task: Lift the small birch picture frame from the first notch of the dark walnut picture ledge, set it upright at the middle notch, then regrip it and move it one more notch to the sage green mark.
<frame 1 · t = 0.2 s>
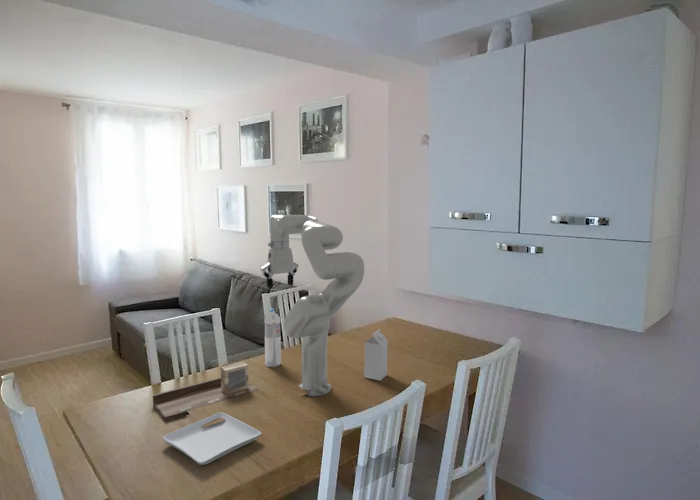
hand: (280, 286, 185), 36 cm above the table, tool pointing down, fingers open, 9 cm apart
salad plate: (212, 445, 134), on the table
picture ledge: (208, 399, 163), on the table
water bottle: (273, 365, 196), on the table
picture frame: (235, 389, 168), point 1 cm above the table, touching picture ledge
milk carton: (375, 376, 184), on the table
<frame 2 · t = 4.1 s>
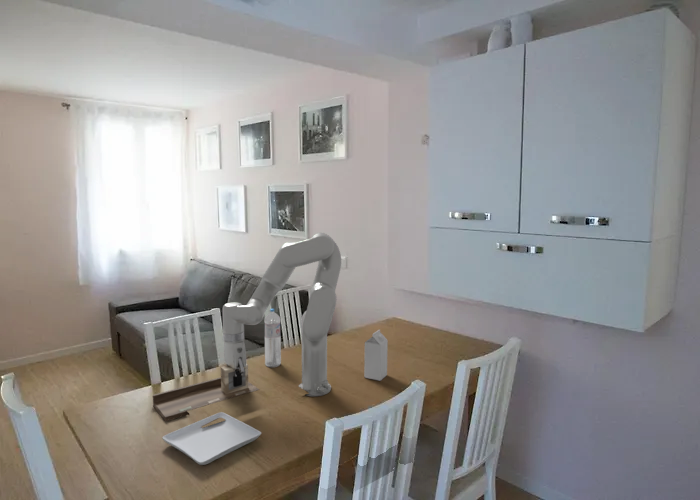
hand: (234, 383, 168), 4 cm above the table, tool pointing down, fingers closed on picture frame, 4 cm apart
picture frame: (235, 389, 168), point 2 cm above the table, touching gripper, picture ledge
everything else where it was.
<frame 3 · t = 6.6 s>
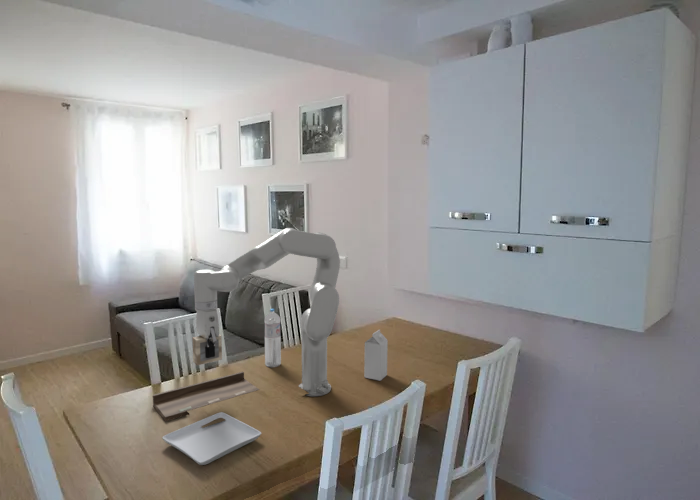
hand: (207, 354, 160), 17 cm above the table, tool pointing down, fingers closed on picture frame, 4 cm apart
picture frame: (207, 360, 160), point 15 cm above the table, touching gripper
everything else where it was.
when the fingers open (5 cm above the table, at t = 9.0 s): picture frame drops 1 cm, resting on picture ledge.
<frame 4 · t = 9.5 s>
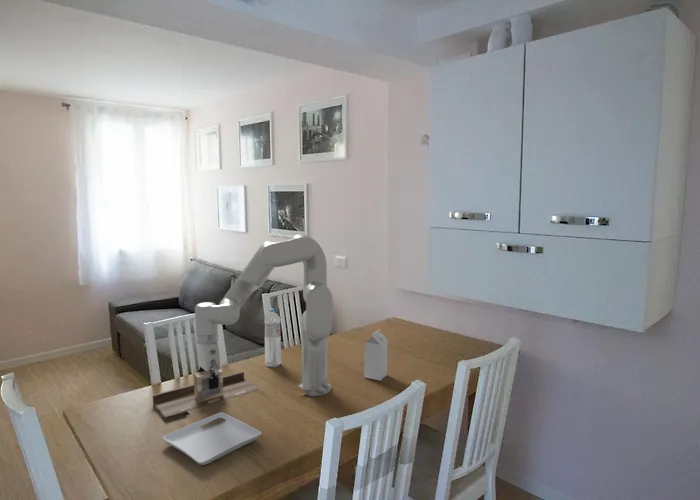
hand: (208, 383, 161), 6 cm above the table, tool pointing down, fingers open, 9 cm apart
picture frame: (209, 396, 162), point 1 cm above the table, touching picture ledge
everything else where it was.
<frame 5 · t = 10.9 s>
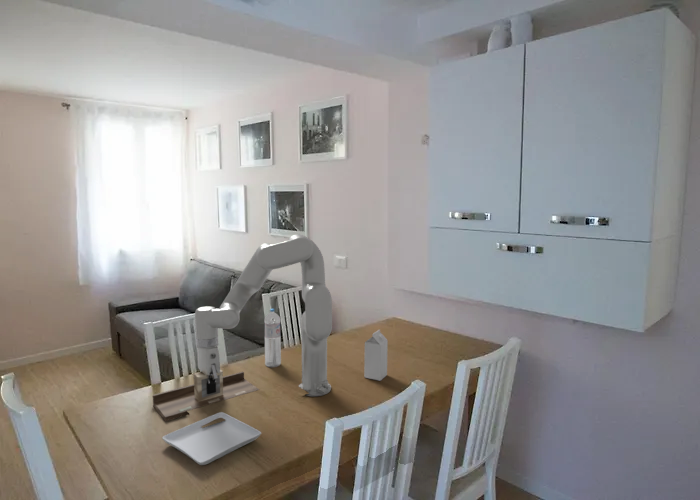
hand: (208, 390, 161), 4 cm above the table, tool pointing down, fingers closed on picture frame, 4 cm apart
picture frame: (209, 396, 162), point 1 cm above the table, touching gripper, picture ledge
everything else where it was.
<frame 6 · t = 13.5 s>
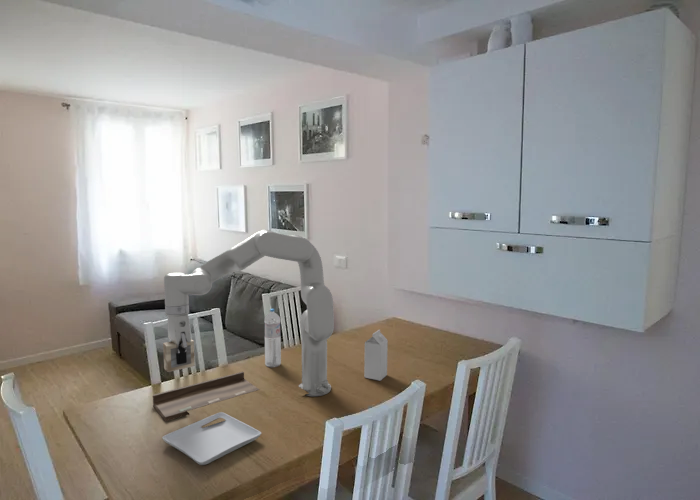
hand: (179, 360, 154), 17 cm above the table, tool pointing down, fingers closed on picture frame, 4 cm apart
picture frame: (179, 367, 154), point 15 cm above the table, touching gripper
everything else where it was.
when the fingers open (5 cm above the table, at t = 15.9 s): picture frame drops 1 cm, resting on picture ledge.
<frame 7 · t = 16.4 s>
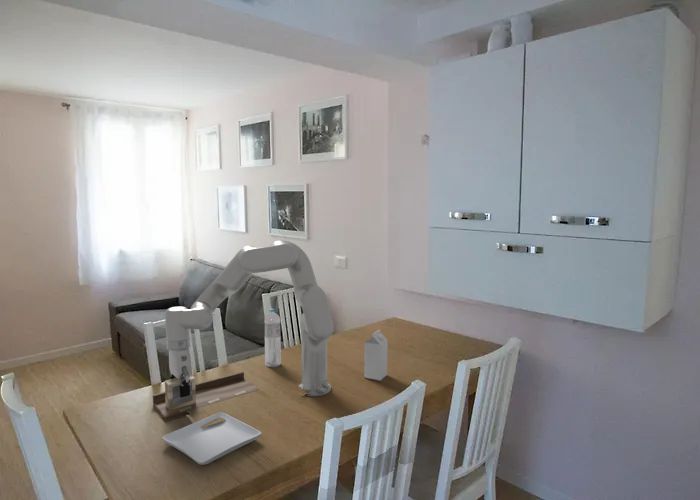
hand: (180, 391, 155), 6 cm above the table, tool pointing down, fingers open, 9 cm apart
picture frame: (181, 404, 156), point 1 cm above the table, touching picture ledge
everything else where it was.
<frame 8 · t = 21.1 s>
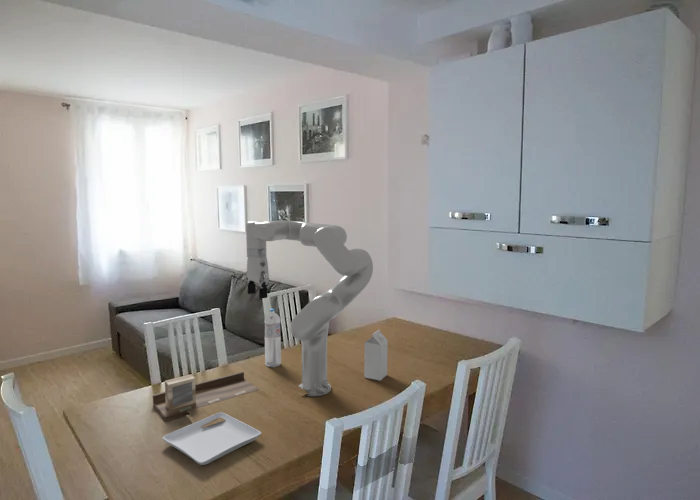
hand: (257, 295, 177), 34 cm above the table, tool pointing down, fingers open, 9 cm apart
nothing on the table moved.
at the end: picture frame 0.1 cm from the target spot on the picture ledge, point 1.5 cm above the picture ledge's base; picture frame tilted 0°; the gripper is holding nothing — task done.
